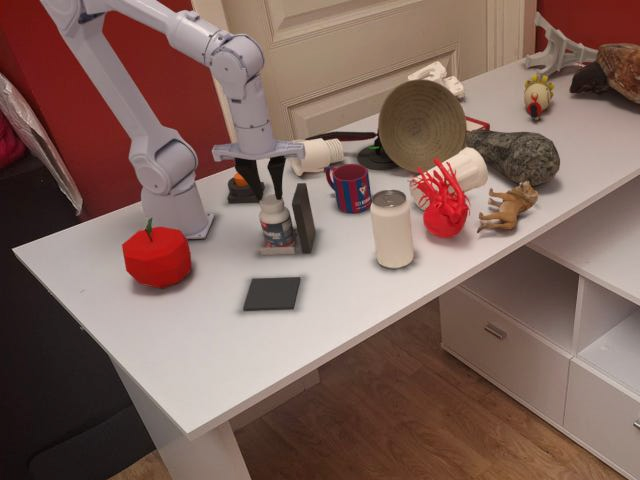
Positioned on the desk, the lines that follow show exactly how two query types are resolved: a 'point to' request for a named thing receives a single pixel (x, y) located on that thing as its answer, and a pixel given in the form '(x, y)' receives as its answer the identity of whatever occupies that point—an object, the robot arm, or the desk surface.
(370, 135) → the toy
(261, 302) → the coaster
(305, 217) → the upright grey panel
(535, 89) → the toy
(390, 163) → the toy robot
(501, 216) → the lion figurine
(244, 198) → the block
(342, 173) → the cup
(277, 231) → the pill bottle
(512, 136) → the decorative stone
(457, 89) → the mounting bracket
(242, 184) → the button
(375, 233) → the can
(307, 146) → the downlight
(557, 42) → the eiffel tower
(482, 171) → the cup
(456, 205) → the heart organ
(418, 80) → the bowl
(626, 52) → the sculpture
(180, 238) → the apple
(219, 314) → the desk surface
